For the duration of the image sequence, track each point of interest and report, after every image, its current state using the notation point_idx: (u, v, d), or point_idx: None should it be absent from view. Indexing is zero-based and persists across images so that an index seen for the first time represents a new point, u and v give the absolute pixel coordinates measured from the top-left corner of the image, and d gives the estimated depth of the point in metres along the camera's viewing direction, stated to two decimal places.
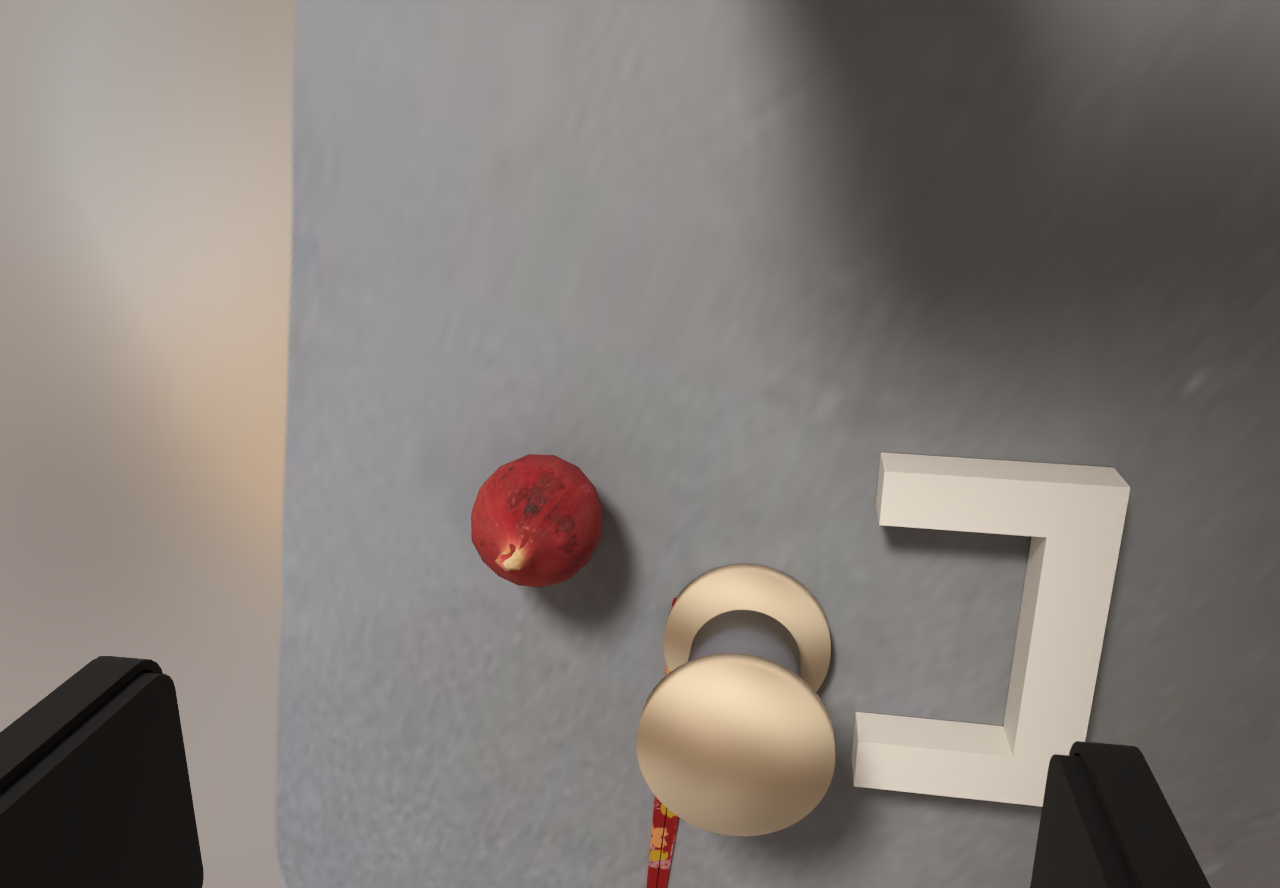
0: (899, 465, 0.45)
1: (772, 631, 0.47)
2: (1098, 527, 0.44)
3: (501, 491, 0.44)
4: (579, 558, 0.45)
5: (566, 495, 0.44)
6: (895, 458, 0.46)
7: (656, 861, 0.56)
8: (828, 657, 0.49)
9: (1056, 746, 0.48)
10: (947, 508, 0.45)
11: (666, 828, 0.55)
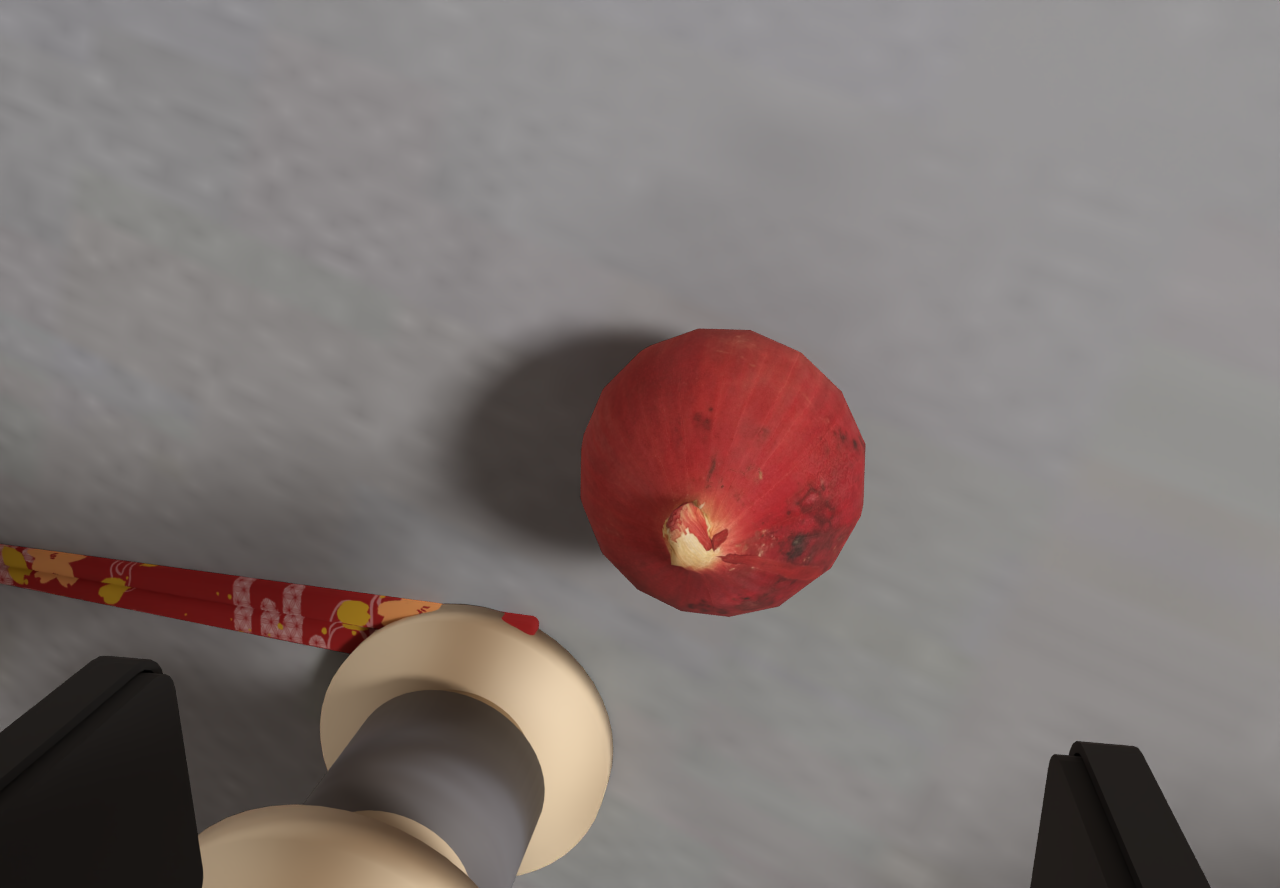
0: None
1: None
2: None
3: (822, 455, 0.19)
4: (666, 603, 0.21)
5: (808, 582, 0.20)
6: None
7: (2, 562, 0.30)
8: None
9: None
10: None
11: (75, 584, 0.29)
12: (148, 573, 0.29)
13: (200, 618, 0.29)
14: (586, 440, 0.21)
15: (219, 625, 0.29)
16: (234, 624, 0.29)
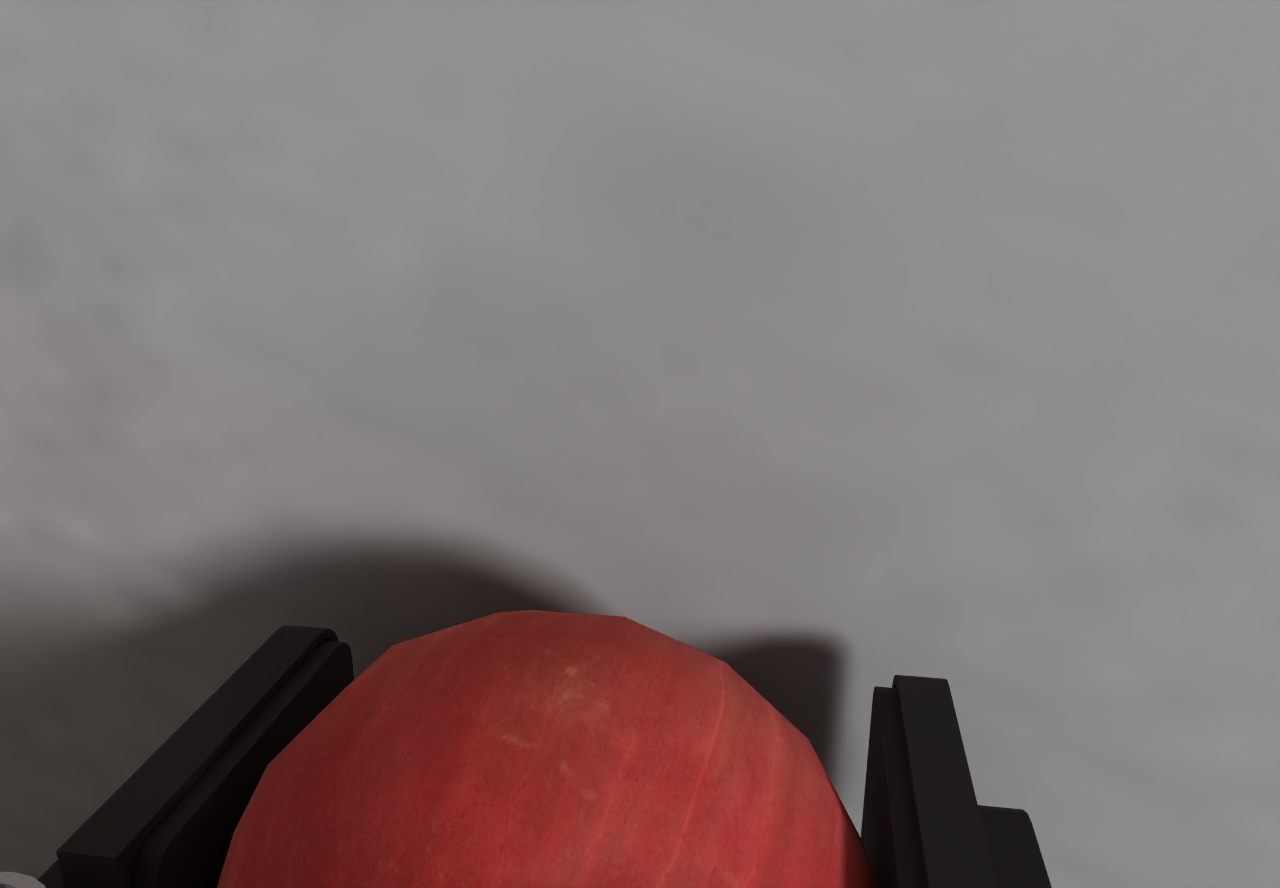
0: None
1: None
2: None
3: None
4: None
5: None
6: None
7: None
8: None
9: None
10: None
11: None
12: None
13: None
14: None
15: None
16: None
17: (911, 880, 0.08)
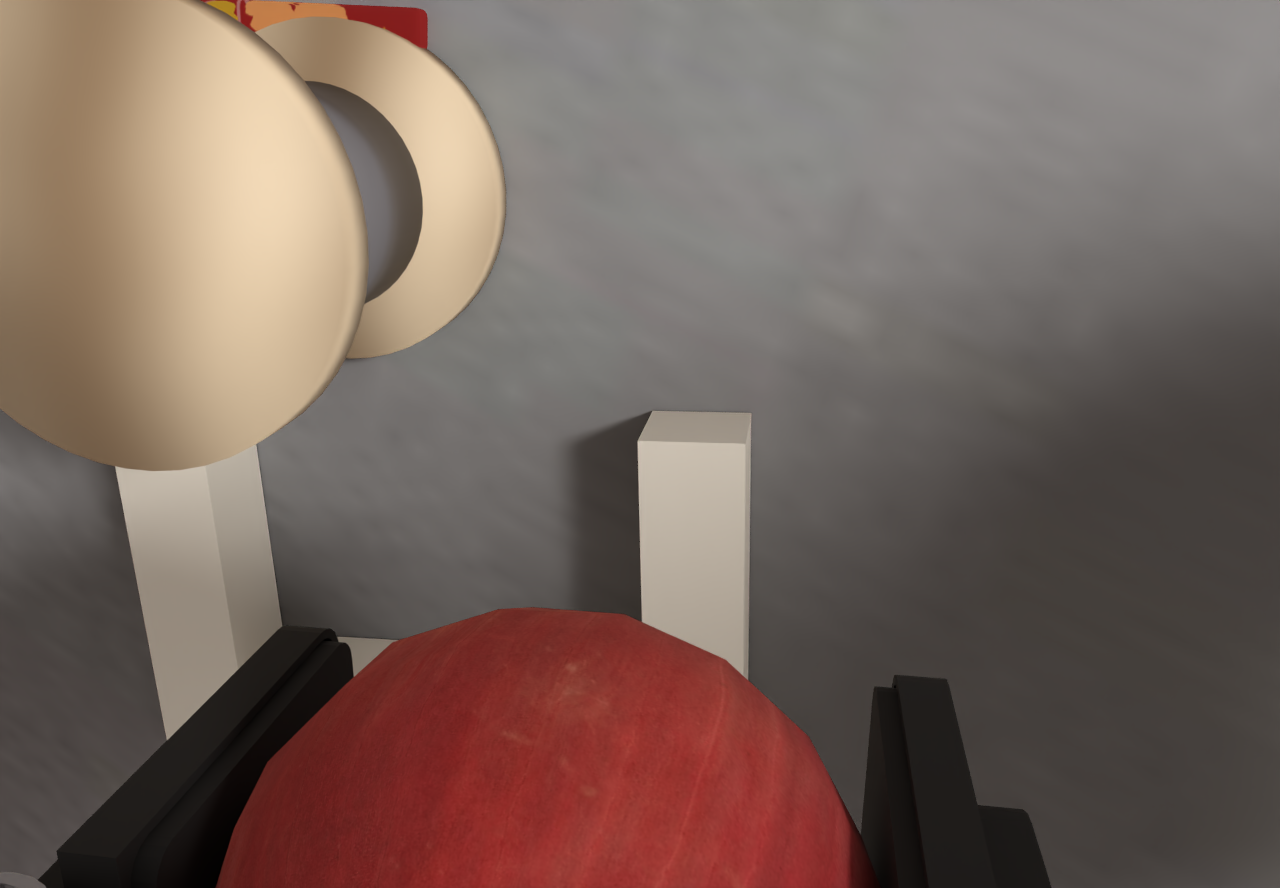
0: (747, 460, 0.25)
1: (393, 259, 0.23)
2: None
3: None
4: None
5: None
6: (749, 444, 0.26)
7: None
8: (348, 354, 0.26)
9: None
10: (682, 553, 0.25)
11: None
12: None
13: None
14: None
15: None
16: None
17: (911, 880, 0.08)
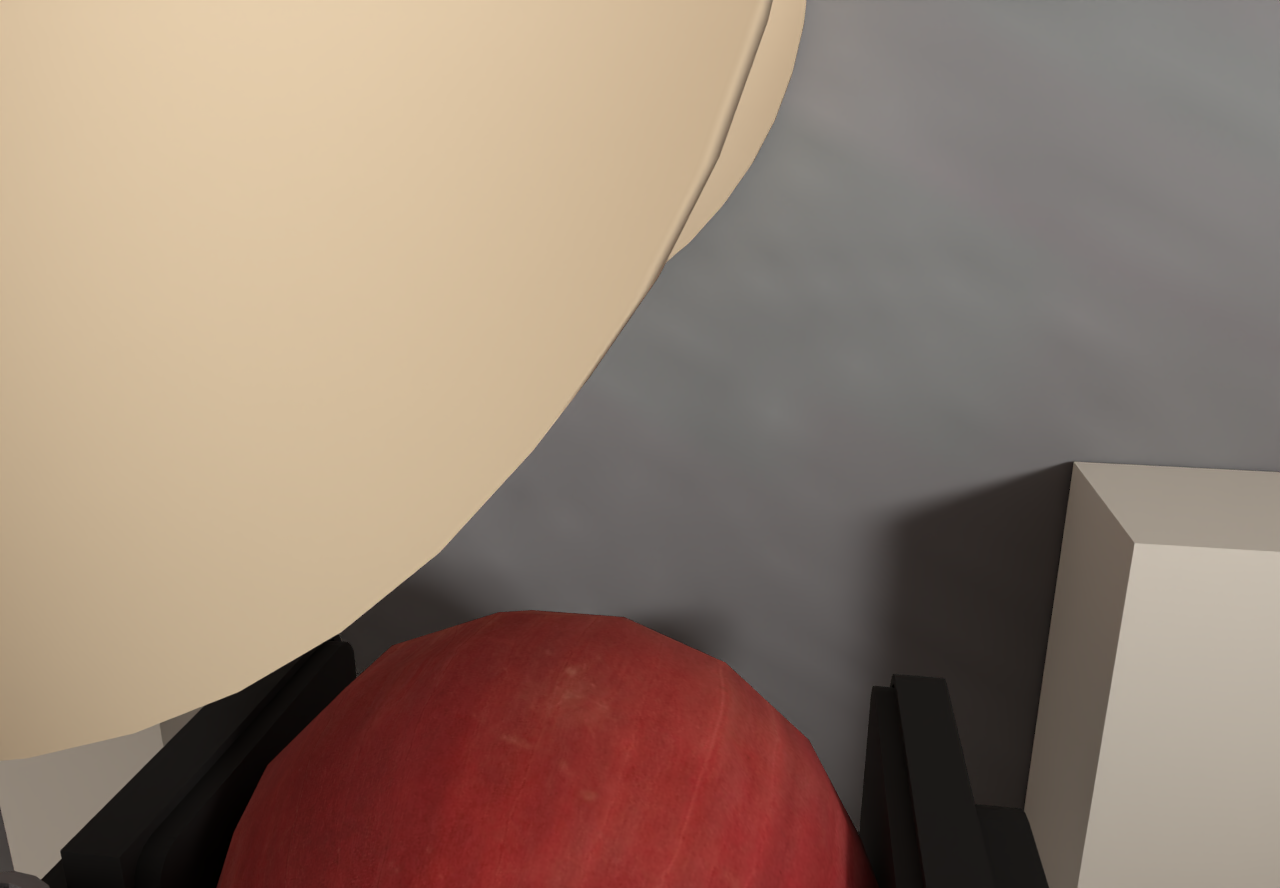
0: None
1: None
2: None
3: None
4: None
5: None
6: None
7: None
8: None
9: None
10: (1195, 790, 0.11)
11: None
12: None
13: None
14: None
15: None
16: None
17: (908, 879, 0.08)
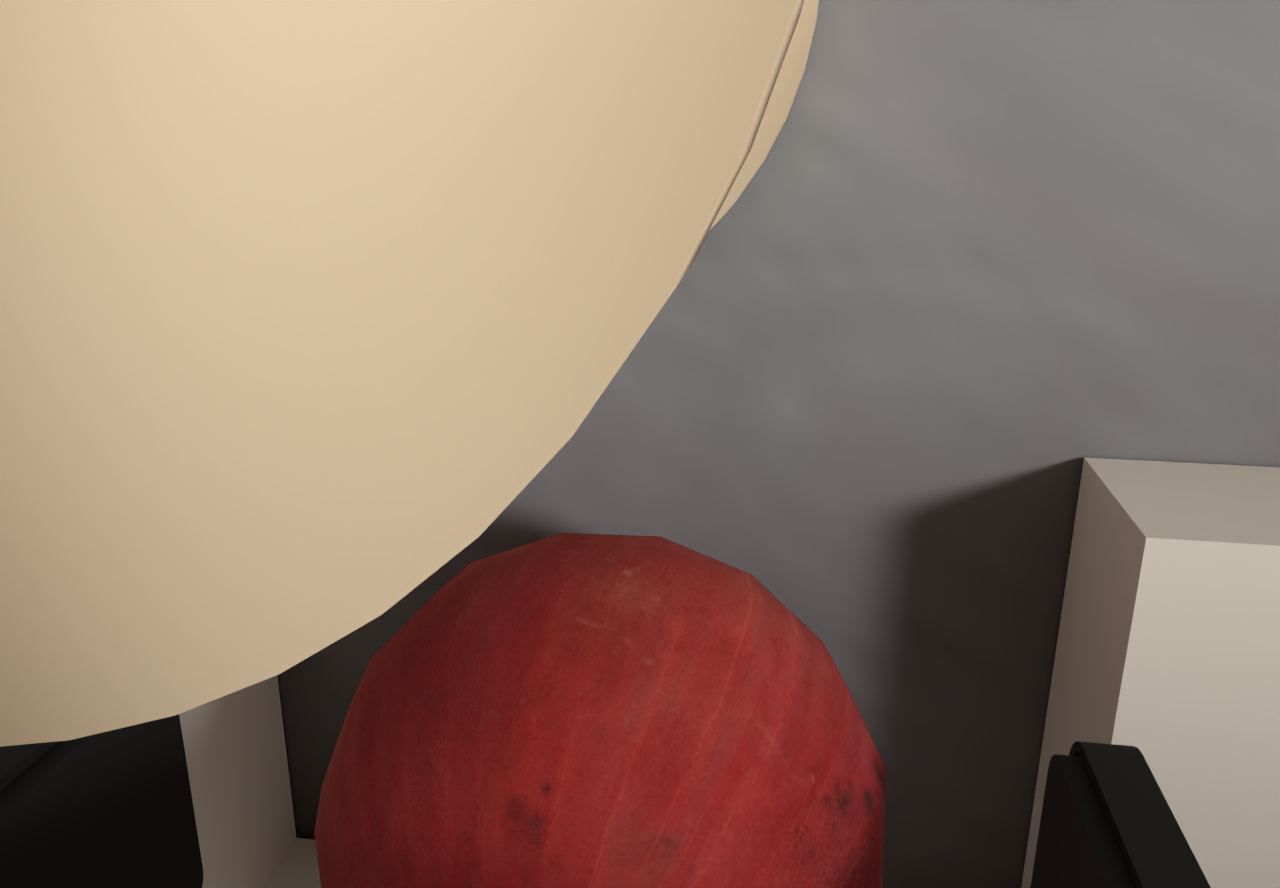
0: None
1: None
2: None
3: (801, 868, 0.09)
4: None
5: None
6: None
7: None
8: None
9: None
10: (1205, 783, 0.11)
11: None
12: None
13: None
14: (326, 776, 0.10)
15: None
16: None
17: None
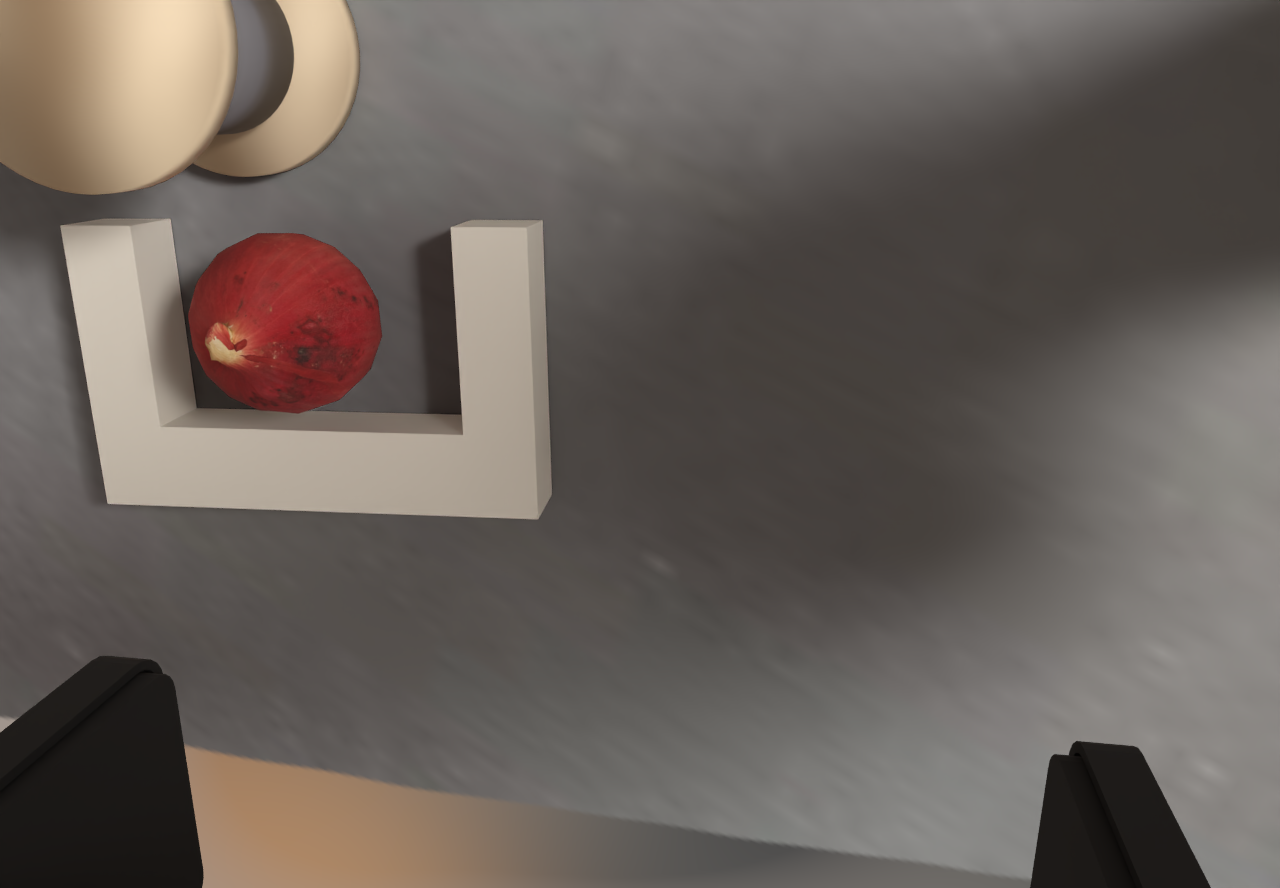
0: (533, 246, 0.34)
1: (270, 87, 0.32)
2: (484, 491, 0.36)
3: (320, 301, 0.32)
4: (246, 404, 0.33)
5: (330, 385, 0.33)
6: (538, 239, 0.35)
7: None
8: (243, 173, 0.35)
9: (188, 475, 0.37)
10: (485, 313, 0.34)
11: None
12: None
13: None
14: None
15: None
16: None
17: None
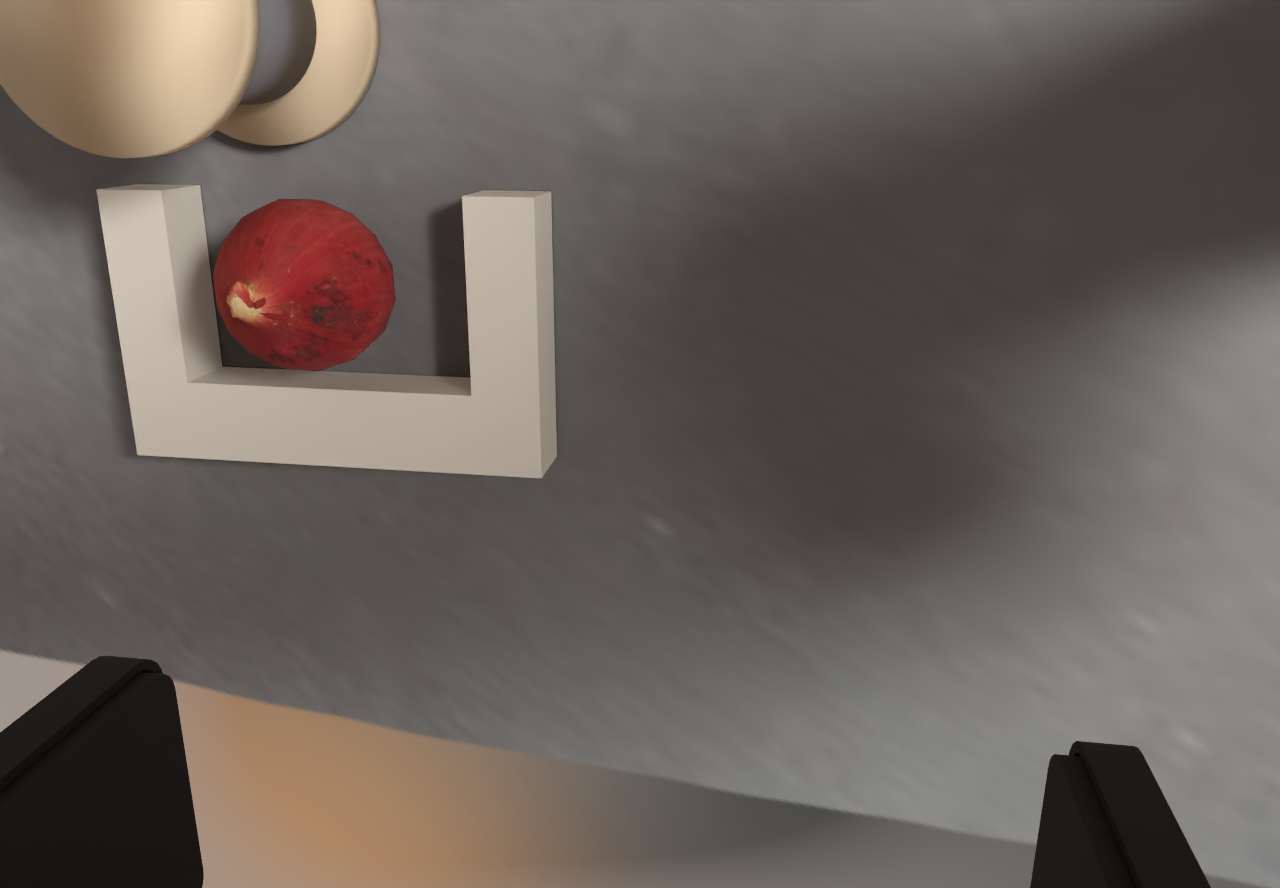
0: (540, 216, 0.36)
1: (293, 59, 0.34)
2: (491, 450, 0.38)
3: (335, 263, 0.34)
4: (265, 360, 0.35)
5: (344, 344, 0.35)
6: (546, 209, 0.37)
7: None
8: (268, 142, 0.37)
9: (213, 430, 0.39)
10: (494, 279, 0.36)
11: None
12: None
13: None
14: None
15: None
16: None
17: None
